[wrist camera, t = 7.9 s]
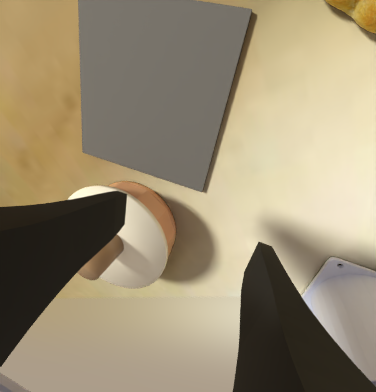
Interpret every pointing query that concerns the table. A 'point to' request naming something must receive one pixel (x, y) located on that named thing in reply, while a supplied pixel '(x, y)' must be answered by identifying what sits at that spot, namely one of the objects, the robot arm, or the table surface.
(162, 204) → the bowl
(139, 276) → the lid
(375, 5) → the bread roll
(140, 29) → the mat
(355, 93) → the table surface
